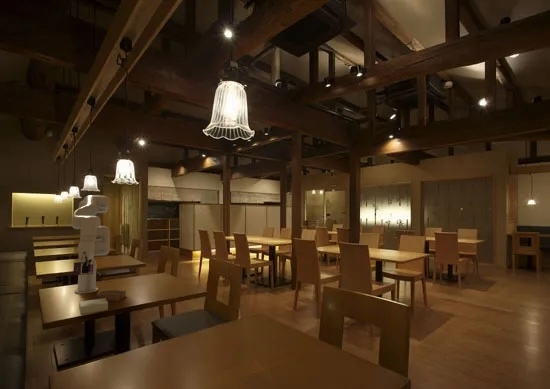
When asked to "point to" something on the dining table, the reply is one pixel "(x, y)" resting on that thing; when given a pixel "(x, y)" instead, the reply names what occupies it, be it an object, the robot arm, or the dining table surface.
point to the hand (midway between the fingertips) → (86, 272)
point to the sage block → (93, 306)
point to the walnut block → (111, 295)
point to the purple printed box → (78, 268)
